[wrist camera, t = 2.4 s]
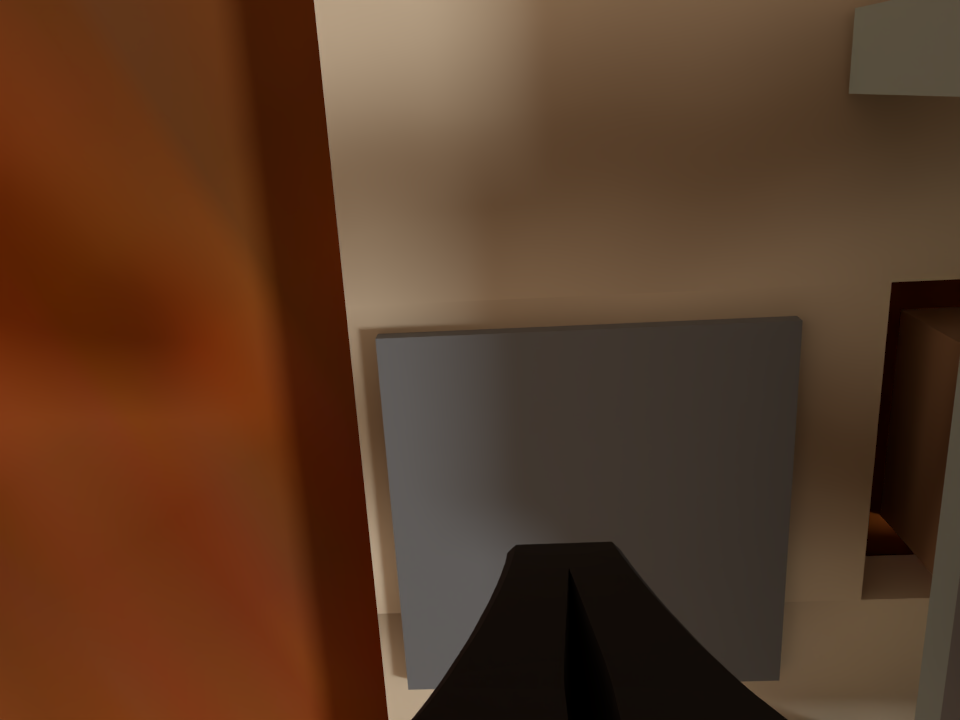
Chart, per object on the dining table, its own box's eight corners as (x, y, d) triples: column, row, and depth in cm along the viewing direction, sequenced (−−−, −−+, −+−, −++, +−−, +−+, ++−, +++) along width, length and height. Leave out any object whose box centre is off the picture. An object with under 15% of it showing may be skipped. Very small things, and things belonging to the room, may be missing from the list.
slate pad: (774, 670, 16) (779, 680, 16) (409, 679, 17) (408, 690, 16) (797, 316, 14) (802, 320, 14) (377, 333, 14) (375, 338, 14)
